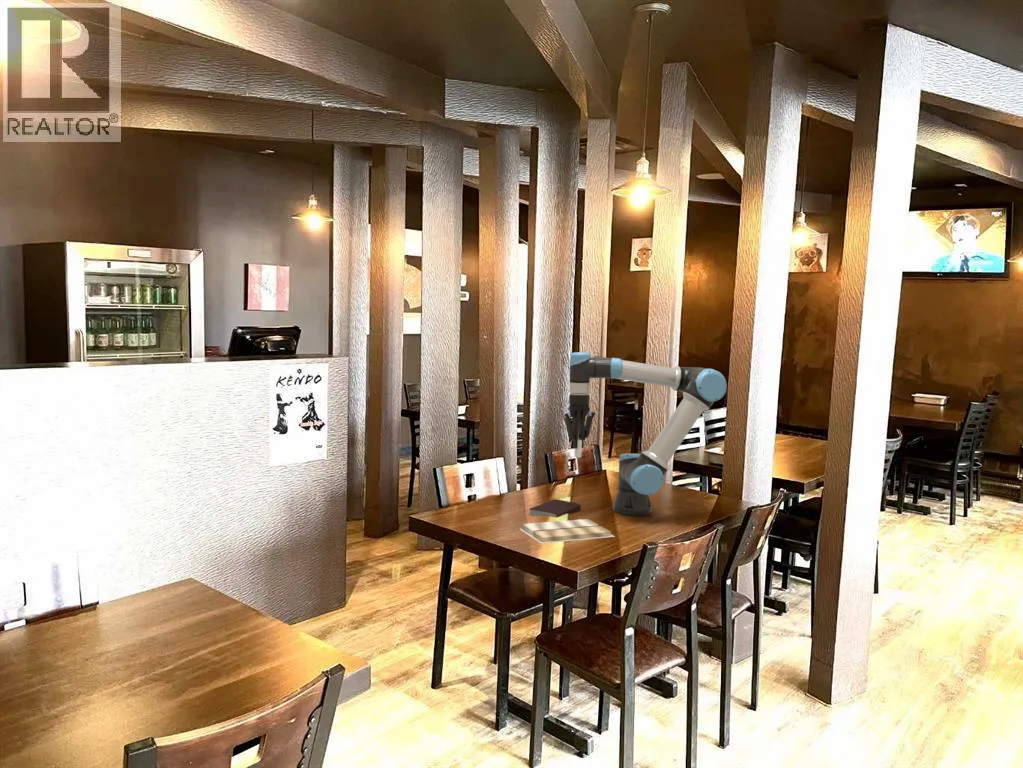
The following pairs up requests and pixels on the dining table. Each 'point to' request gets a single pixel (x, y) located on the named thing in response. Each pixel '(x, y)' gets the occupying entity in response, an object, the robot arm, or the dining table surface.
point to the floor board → (562, 540)
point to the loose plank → (558, 525)
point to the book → (555, 508)
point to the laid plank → (571, 534)
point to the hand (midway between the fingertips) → (577, 456)
